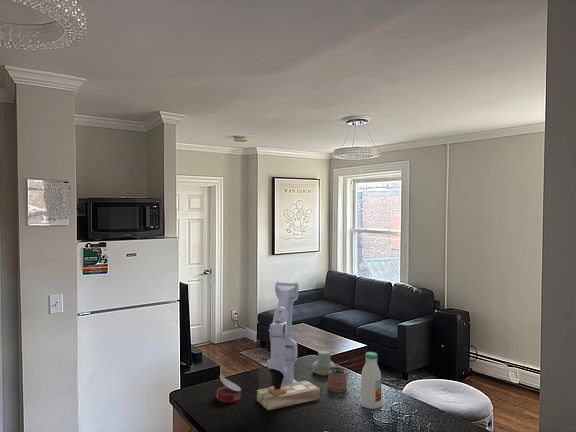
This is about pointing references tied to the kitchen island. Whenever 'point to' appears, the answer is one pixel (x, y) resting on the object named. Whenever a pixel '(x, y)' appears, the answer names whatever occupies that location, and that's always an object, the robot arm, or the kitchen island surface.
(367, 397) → the milk bottle
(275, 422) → the kitchen island surface
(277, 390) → the terracotta button
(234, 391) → the canned food
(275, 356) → the robot arm
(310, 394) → the button panel
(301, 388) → the grey button
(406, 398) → the kitchen island surface
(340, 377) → the lighter
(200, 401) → the kitchen island surface
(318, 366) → the pale green jug
